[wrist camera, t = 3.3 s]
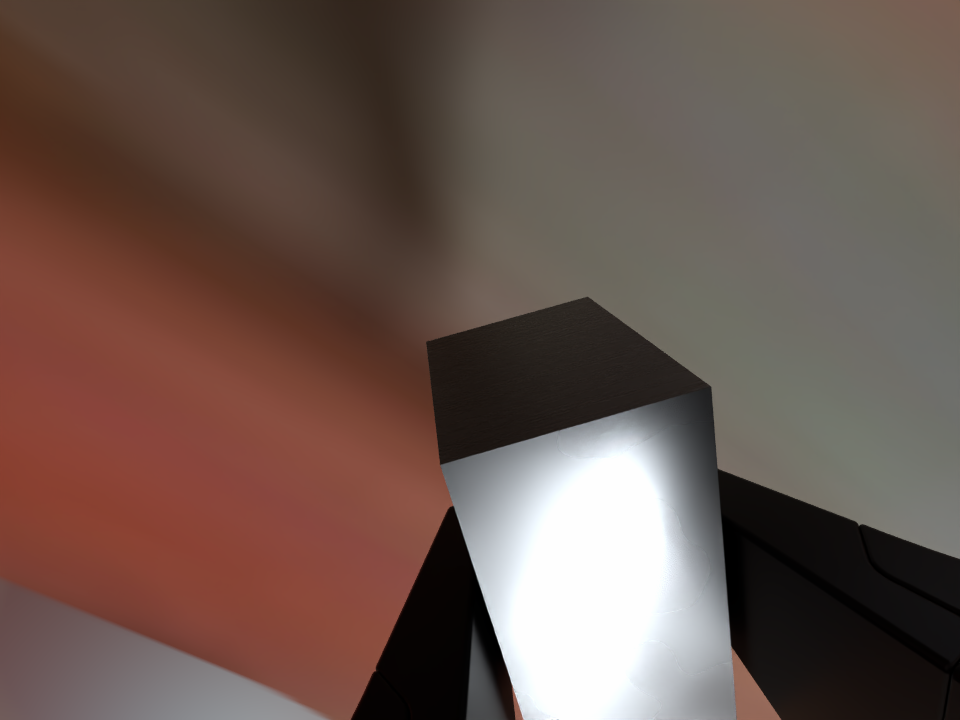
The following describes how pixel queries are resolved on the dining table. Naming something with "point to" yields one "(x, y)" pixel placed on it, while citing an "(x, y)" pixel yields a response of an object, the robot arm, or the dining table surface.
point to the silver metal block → (589, 514)
